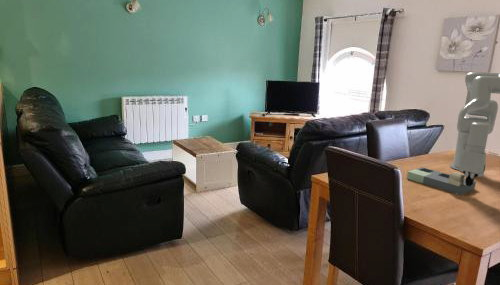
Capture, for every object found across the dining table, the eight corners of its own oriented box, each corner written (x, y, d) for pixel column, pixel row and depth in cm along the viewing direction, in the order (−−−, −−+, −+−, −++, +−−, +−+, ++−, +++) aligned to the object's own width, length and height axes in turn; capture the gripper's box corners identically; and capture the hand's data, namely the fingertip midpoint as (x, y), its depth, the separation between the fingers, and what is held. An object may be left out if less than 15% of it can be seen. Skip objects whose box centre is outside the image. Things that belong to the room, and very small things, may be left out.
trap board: (420, 173, 204) (421, 167, 203) (474, 189, 183) (475, 181, 182) (406, 178, 196) (407, 171, 195) (461, 195, 174) (462, 187, 173)
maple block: (452, 181, 181) (454, 171, 180) (463, 184, 177) (465, 174, 176) (448, 183, 178) (449, 173, 177) (458, 186, 174) (460, 176, 173)
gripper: (455, 146, 174) (449, 182, 178) (490, 153, 162) (482, 191, 167) (462, 144, 178) (456, 179, 182) (496, 151, 167) (489, 188, 171)
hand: (468, 185), depth 175 cm, fingers closed
